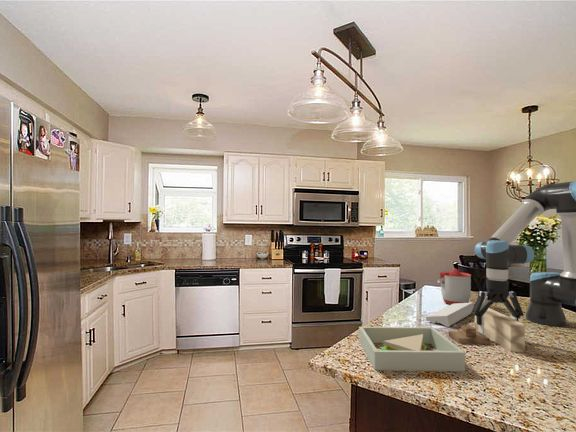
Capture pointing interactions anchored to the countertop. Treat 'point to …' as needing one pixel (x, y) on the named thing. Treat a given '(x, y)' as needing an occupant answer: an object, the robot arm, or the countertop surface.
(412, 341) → the sandwich
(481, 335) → the fulcrum
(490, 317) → the beam
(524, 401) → the countertop surface
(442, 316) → the decorative molding
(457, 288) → the citrus juicer
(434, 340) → the sandwich crate
